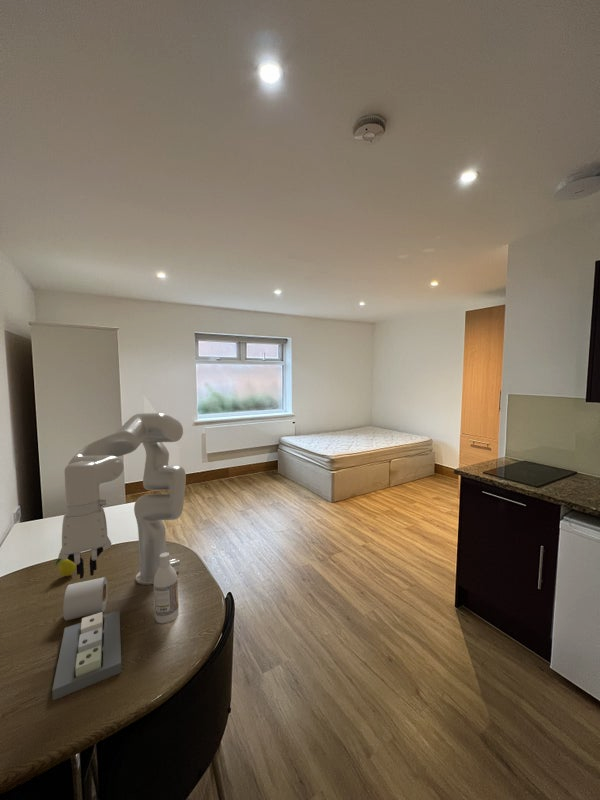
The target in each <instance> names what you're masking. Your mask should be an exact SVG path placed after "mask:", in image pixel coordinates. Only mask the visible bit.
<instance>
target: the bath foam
mask: <svg viewBox="0 0 600 800" xmlns="http://www.w3.org/2000/svg"><path fill="white" fill-rule="evenodd" d="M159 559H160V567H159V569H158V571H157V572H156V574H155V577H154V584H153V602H154V618H155V621H156V622H157V623H158V624H167V623H170V622H172V621H174V620H175V619H176V618H177V617H178V616H179V612H180V611H179V610H180V609H179V607H180V605H179V589H178V587H179V585H178V583H179V582H178V575H177V572H176V569H175V568H174V567H172V566H171V565H170V560H171V558H170V552H167V551H166V552H165V553H162V554H160V556H159Z"/></svg>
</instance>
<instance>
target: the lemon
mask: <svg viewBox="0 0 600 800" xmlns="http://www.w3.org/2000/svg"><path fill="white" fill-rule="evenodd" d="M58 564H59V566H58V571H59V572H58V573H59V575H60V576H62V577H70V576H71V575H72V574H74V572H75V571H76V570H77V566H76V564H75V563H74V562H72V561H70V560H68V559H59V558H57V560H56V561H55V566H57V565H58Z"/></svg>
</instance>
